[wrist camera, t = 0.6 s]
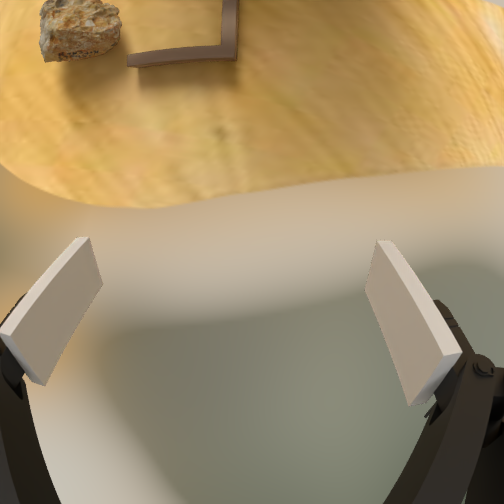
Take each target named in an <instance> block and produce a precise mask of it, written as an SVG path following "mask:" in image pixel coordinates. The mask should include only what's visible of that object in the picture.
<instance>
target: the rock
mask: <svg viewBox="0 0 504 504" xmlns="http://www.w3.org/2000/svg"><path fill="white" fill-rule="evenodd" d="M118 13H119V9H118V8H116V7H115V6H114V5H110V4H108V3H104V4H103V3H102V1H100V0H48V1H46V2H45V3H44V4H43V7H42V8H41V10H40V14H39V15H41V20H40V21H41V22H40V27H41V36H40V41H39V45H40V48H41V54H42V55H43V58H44V61H45V63H46V62H52V61H57V62H61V61H69V62H70V61H71V60H79V59H85V58H89V57H94V56H98V55H101V54H104V53H106V52H107V51H108V50H110V49H112V48H113V47H114V46H115V45H116V44H117V42H118V40H119V38H120V28H121V26H122V23H121V21H120V19H119V16H117V15H118Z"/></svg>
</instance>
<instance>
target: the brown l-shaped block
mask: <svg viewBox="0 0 504 504" xmlns="http://www.w3.org/2000/svg"><path fill="white" fill-rule="evenodd" d="M238 10H239V0H223V8H222V31H221V45H216V46H196V47H183V48H172V49H163V50H155V51H148V52H142V53H135V54H130V55H127V66H128V67H135V68H141V67H148V66H156V65H165V64H175V63H188V62H206V61H237V35H238Z"/></svg>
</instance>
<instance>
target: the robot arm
mask: <svg viewBox="0 0 504 504" xmlns="http://www.w3.org/2000/svg"><path fill="white" fill-rule="evenodd" d="M102 285H103V282H102V279H101V276H100V273H99V270H98V267H97V263H96V259H95V256H94V252H93V249H92V245H91V241H90V238H89V237H77V238H76V239H75V240H74V241H73V242H72V243H71V244H70V245H69V246H68V247H67V248H66V249H65V250H64V251H63V252H62V253H61V255H60V256H59V257H58V258H57V259H56V260H55V261H54V262H53V263H52V264H51V266H50V267H49V268H48V269H47V270H46V271H45V272H44V274H43V275H42V276H41V277H40V278H39V279H38V280H37V282H36V283H35V284H34V285H33V286H32V288H31V289H30V290H29V291H28V292H27V293H26V294H24V295H23V296H22V297H21V298H20V299H19V300H18V302H17V303H16V304H15V307H13V308H12V309H11V310H10V313H8V314H7V316H6V317H5V318H4V320H3V321H2V323H1V324H0V504H61V502H60V500H59V498H58V495H57V493H56V490H55V488H54V485H53V483H52V480H51V477H50V475H49V472H48V470H47V466H46V463H45V460H44V458H43V454H42V451H41V448H40V445H39V441H38V438H37V434H36V430H35V427H34V423H33V418H32V414H31V410H30V405H29V400H28V395H27V390H26V384H25V382H24V380H23V379H22V376H23V375H24V373H26V375H27V376H28V377H29V379H30V380H31V381H32V382H34V383H37V384H40V385H42V386H46V383H47V381H48V379H49V377H50V375H51V374H52V372H53V370H54V368H55V366H56V364H57V362H58V360H59V358H60V356H61V354H62V353H63V351H64V349H65V347H66V345H67V343H68V342H69V340H70V338H71V336H72V335H73V333H74V331H75V329H76V328H77V326H78V324H79V323H80V321H81V319H82V317H83V316H84V314H85V312H86V311H87V309H88V308H89V306H90V304H91V303H92V301H93V299H94V298H95V296H96V294H97V293H98V291H99V290H100V288H101V287H102ZM365 293H366V295H367V297H368V300H369V302H370V304H371V307H372V309H373V311H374V314H375V316H376V319H377V321H378V323H379V326H380V329H381V331H382V334H383V336H384V339H385V341H386V344H387V346H388V349H389V352H390V354H391V357H392V360H393V362H394V365H395V368H396V371H397V374H398V376H399V379H400V382H401V385H402V388H403V391H404V394H405V397H406V400H407V403H408V406H414V405H419V404H423V403H426V402H427V401H428V400H429V399H430V397H431V396H432V395H433V394H434V395H435V397H436V400H437V401H436V402H435V404H434V405H433V406H432V407H431V408H430V410H429V411H428V412H427V413H426V415H425V416H424V417H425V418H427V416H428V415H429V414H430V415H429V417H428V420H427V422H426V424H425V426H424V429H423V431H422V433H421V435H420V438H419V440H418V442H417V444H416V446H415V448H414V450H413V452H412V454H411V456H410V458H409V460H408V462H407V464H406V466H405V467H404V469H403V471H402V473H401V475H400V477H399V478H398V480H397V482H396V483H395V485H394V487H393V489H392V490H391V492H390V494H389V495H388V497H387V498H386V500H385V501H384V503H383V504H461V503H462V501H463V498H464V496H465V494H466V491H467V494H466V499H465V504H504V368H499V367H495V366H494V364H493V363H492V362H491V360H490V359H489V358H487V357H485V356H483V355H480V354H475V352H474V351H473V349H472V347H471V345H470V344H469V342H468V340H467V338H466V337H465V335H464V333H463V332H462V330H461V328H460V327H458V323H457V322H456V320H455V319H454V317H453V315H452V314H451V312H450V311H449V309H448V308H447V307H446V306H445V305H444V304H443V303H441V302H440V301H439V300H432V299H431V297H430V296H429V294H428V293H427V291H426V290H425V288H424V287H423V285H422V284H421V282H420V280H419V279H418V277H417V276H416V274H415V273H414V271H413V270H412V269H411V267H410V266H409V264H408V263H407V261H406V260H405V259H404V257H403V256H402V254H401V253H400V252H399V250H398V249H397V248H396V246H395V245H394V243H393V242H392V241H385V240H377V241H376V246H375V250H374V254H373V258H372V262H371V267H370V271H369V274H368V278H367V282H366V286H365Z"/></svg>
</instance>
